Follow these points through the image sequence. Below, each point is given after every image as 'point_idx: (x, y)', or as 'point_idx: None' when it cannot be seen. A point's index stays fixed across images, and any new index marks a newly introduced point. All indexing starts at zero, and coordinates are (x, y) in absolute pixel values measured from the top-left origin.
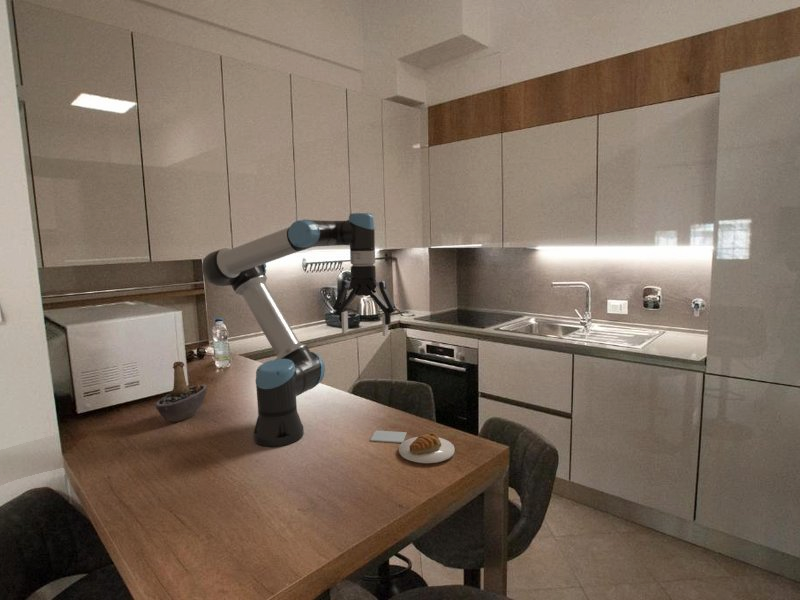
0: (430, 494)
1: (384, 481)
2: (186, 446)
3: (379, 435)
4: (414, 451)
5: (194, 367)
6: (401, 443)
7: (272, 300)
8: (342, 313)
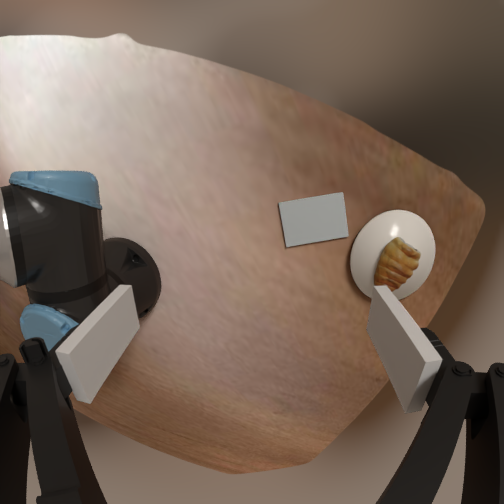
0: None
1: (350, 349)
2: None
3: (295, 223)
4: None
5: None
6: (351, 254)
7: None
8: (85, 398)
